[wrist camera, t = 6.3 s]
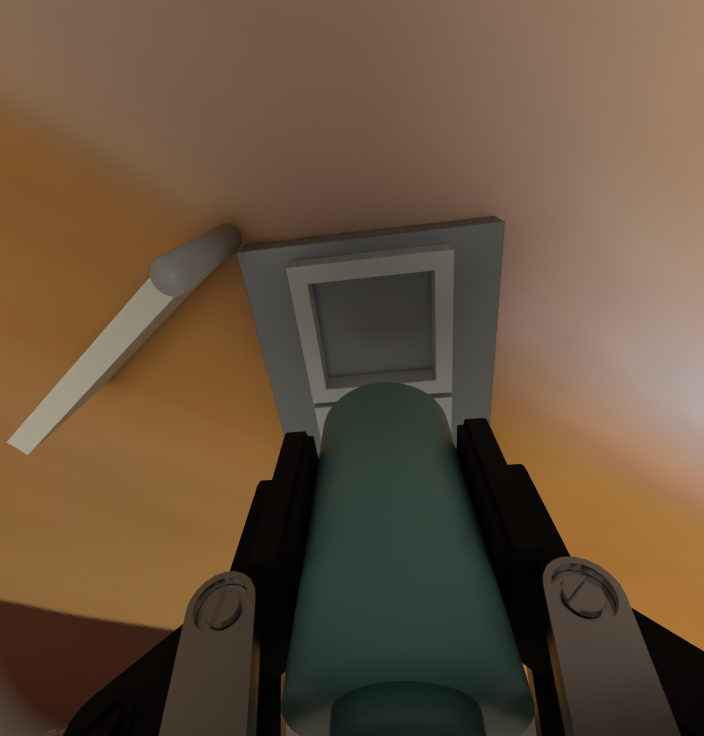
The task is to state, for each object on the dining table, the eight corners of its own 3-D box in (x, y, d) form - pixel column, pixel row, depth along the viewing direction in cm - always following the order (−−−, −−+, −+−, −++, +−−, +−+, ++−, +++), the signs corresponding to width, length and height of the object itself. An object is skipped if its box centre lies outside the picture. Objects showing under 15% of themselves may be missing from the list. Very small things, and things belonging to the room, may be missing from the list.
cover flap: (225, 217, 18) (164, 247, 13) (247, 240, 19) (198, 279, 13) (87, 370, 23) (-2, 442, 17) (108, 385, 23) (28, 460, 18)
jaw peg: (313, 387, 11) (242, 710, 5) (449, 376, 11) (573, 706, 4) (332, 484, 13) (299, 810, 7) (448, 477, 13) (534, 812, 6)
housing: (245, 245, 19) (228, 259, 17) (494, 216, 18) (514, 226, 16) (303, 479, 27) (297, 511, 24) (478, 467, 26) (490, 499, 23)
